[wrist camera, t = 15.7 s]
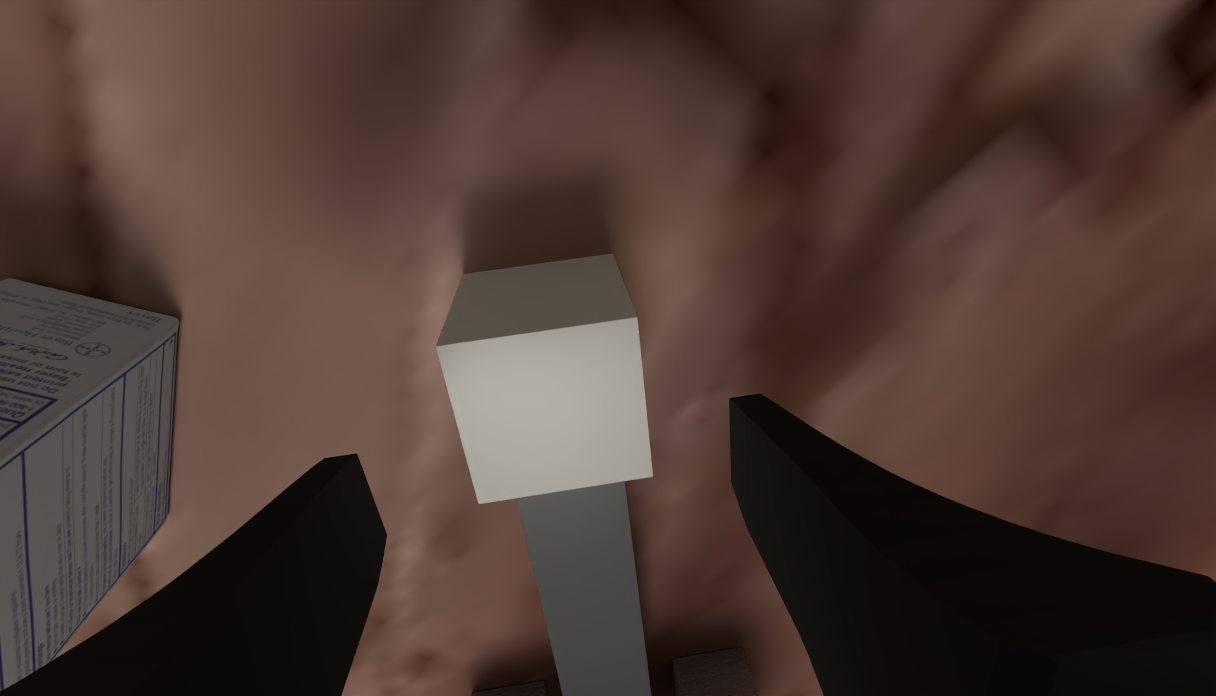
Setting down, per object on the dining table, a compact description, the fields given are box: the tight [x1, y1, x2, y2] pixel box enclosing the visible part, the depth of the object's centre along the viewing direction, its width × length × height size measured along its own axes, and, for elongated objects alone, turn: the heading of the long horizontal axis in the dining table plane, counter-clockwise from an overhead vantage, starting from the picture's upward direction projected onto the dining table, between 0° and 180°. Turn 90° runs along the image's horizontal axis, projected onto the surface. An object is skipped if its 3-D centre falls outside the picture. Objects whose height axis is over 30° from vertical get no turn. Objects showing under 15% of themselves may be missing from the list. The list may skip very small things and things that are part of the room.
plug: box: [436, 253, 653, 696], centre depth 19 cm, size 4×17×5 cm, turn 6°
